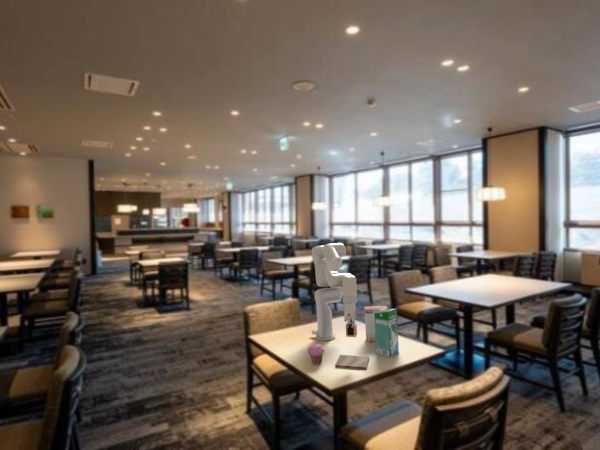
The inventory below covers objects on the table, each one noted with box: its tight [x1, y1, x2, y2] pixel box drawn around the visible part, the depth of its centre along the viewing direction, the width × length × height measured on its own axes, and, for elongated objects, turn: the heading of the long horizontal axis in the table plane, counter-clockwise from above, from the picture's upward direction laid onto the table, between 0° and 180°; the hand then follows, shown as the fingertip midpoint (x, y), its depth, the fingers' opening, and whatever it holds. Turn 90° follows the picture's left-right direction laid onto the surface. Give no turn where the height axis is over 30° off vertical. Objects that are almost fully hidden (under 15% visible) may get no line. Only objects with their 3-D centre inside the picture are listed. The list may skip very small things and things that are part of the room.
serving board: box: [334, 354, 370, 370], centre depth 189 cm, size 16×14×1 cm
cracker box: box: [363, 305, 389, 343], centre depth 222 cm, size 14×6×21 cm, turn 84°
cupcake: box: [307, 343, 325, 365], centre depth 192 cm, size 9×9×10 cm
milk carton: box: [374, 308, 400, 358], centre depth 201 cm, size 9×9×25 cm
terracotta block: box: [345, 322, 358, 338], centre depth 189 cm, size 5×5×6 cm
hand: (351, 333), depth 189 cm, fingers closed on terracotta block, 5 cm apart
